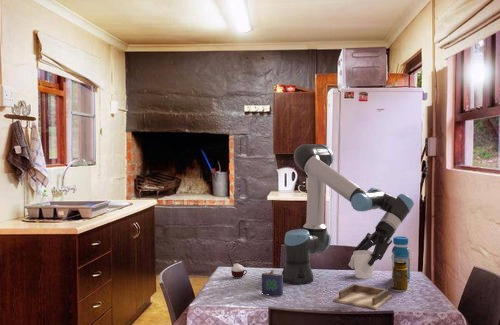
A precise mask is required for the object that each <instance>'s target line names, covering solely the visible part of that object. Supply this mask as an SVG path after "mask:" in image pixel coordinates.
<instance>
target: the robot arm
mask: <svg viewBox="0 0 500 325" xmlns="http://www.w3.org/2000/svg"><path fill="white" fill-rule="evenodd" d="M293 160H294V163H295V165H296V166H297V168H299V169H300V170H301V171H303V172H304V173H305V174H307V185H306V186H307V187H306V188H307V193H306V222H305V224H304V225H303V226H302V228H297V229H291V230H289V231H286V232H285V234H284V241H283V242H284V266H283V270H282V273H281V274H282V275H283V281H284V282H283V283H286V282H287V284H290V283H291V285H306V284H310V283H313V282H314V279H315V278H314V274H313V270H312V268H311V264H310V261H311V259H310V256H312V255H316V254H322V253H323V252H325V251H326V250H328V248H329V247H330V246H331V242H332V241H331V239H332V238H331V234H330V233H329V230H327V228H328V226H327V224H325V199H326V197H325V193H326V192H325V191H326V186H327V187H329V188H330V189H332V190H333V191H334V192H336V193H337V194H339V195H340V196H341V197H343V198H344V199H346V200H347V201H348V202H349V203H350V204H351V207H352V209H353V210H355V211H356V212H367V211H371V210H377V209H379V210H382V211H384V212H385V213H384V215H383V216H382V218H381V219H380V221H379V222H377V224H376V226H375V227H374V228H375V231H374V232H373V233H370V232H368V233H366V235H365V236H364V238H363V239H362V240H361V241H360V242H359V243H358V244H357V246H356V247H355V248H354V251H358V250H366V251H367V250H370V249H371V248H372V247H374V248H373V250H372V251H373V254H371V256H372V257H371V256H370V257H369V258H368V259H367V261H366V262H365V263H364V265H363V266H362V268H361V270H362V271H363V272H364V273H366V272H367V271H368V270H369V268H370V267H371V266H372V265H373V264H374V262H375V263H376V261H378V260H379V261H381V260H382V259H383V257H384V256H385V253H386V252H387V250H388V248H389V247H390V245H391V244H393V240H392V239H391V238H393V236H394V234H395V232H396V231H397V230H398V228H399V227H400V225H401V224H402V223H403V221H404V220H405V219H406V217H407V216H408V215H409V214H410V212H411V211H412V208H413V207H414V205H415V202H414V200H413V199H412V198H411V197H410V196H409V195H407V194H405V193H399V194H398V195H397V196H394V195H391V194H390V193H387V192H385V191H383V190H381V189H379V188H375V187H371V188H369V189H368V190H367V191H366V190H364V189H363V188H361V187H360V186H359V185H357V184H356V183H354V182H353V181H352V180H350V179H349V178H347V177H345V176H344V175H343V174H341V173H340V172H339V171H336V170H335V169H334V168H333V167H331V165H332V164H333V163H334V154H333V151H332V149H331V148H330V147H329V146H328V145H326V144H320V143H314V144H312V143H310V144H309V143H303V144H301V145H299V146H298V147H297V148H296V149H295V150H294V152H293ZM348 266H349V267H350V268H351V269H352V270H355V266H354V257H353V258H352V260H351V259H350V261H349V263H348Z"/></svg>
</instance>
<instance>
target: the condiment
mask: <svg viewBox="0 0 500 325" xmlns="http://www.w3.org/2000/svg"><path fill="white" fill-rule="evenodd" d="M406 264H407V263H406V261H401V260H397V261H394V267H393V279H392V281H393V282H392V284H393V285H392V286H388V287H386V289H387V290H392V291H395V292H398V293H401V292H405V291H409V290H412V288H411V287H408V284H409V283H408V282H409V281H408V275H407V274H408V270H407V265H406Z"/></svg>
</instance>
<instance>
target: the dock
mask: <svg viewBox="0 0 500 325" xmlns="http://www.w3.org/2000/svg"><path fill="white" fill-rule="evenodd" d="M392 298H393V295H391V294H389V289H387V288H386V289H385V288H380V287H379V288H378V287H373V286H368V285H361V284H355V283H352V284H351V285H349V286H347V287H346V288H343V289H341V290H340V291H338V296H336V297H334V298H333V299H332V300H333V302H336V303H342V304H345V305H350V306H351V305H352V306H356V307H361V308H362V307H363V308H365V309H366V308H368V309H371V310H377V309H379V308H380V307H382V306H383V305H384V304H386V303H387V302H389V301H390V300H391V299H392Z"/></svg>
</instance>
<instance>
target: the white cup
mask: <svg viewBox="0 0 500 325" xmlns="http://www.w3.org/2000/svg"><path fill="white" fill-rule="evenodd" d="M372 251H373V250H370V251H366V250H358V251H355V250H354V251H353V255H354V266H355V267H354V273H355V275H354V276H355V278H358V279H365V280H366V279H372V278H373V272H374V269H373V265H372V266H371V267H370V268H369V270H368V271H367V272H366V273H364V272H363V271H362V270H361V268H362V266H363V265H364V263H365V262H366V261H367V259H368V258H369V257H370V256H371V254H373V252H372ZM371 257H372V256H371Z"/></svg>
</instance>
